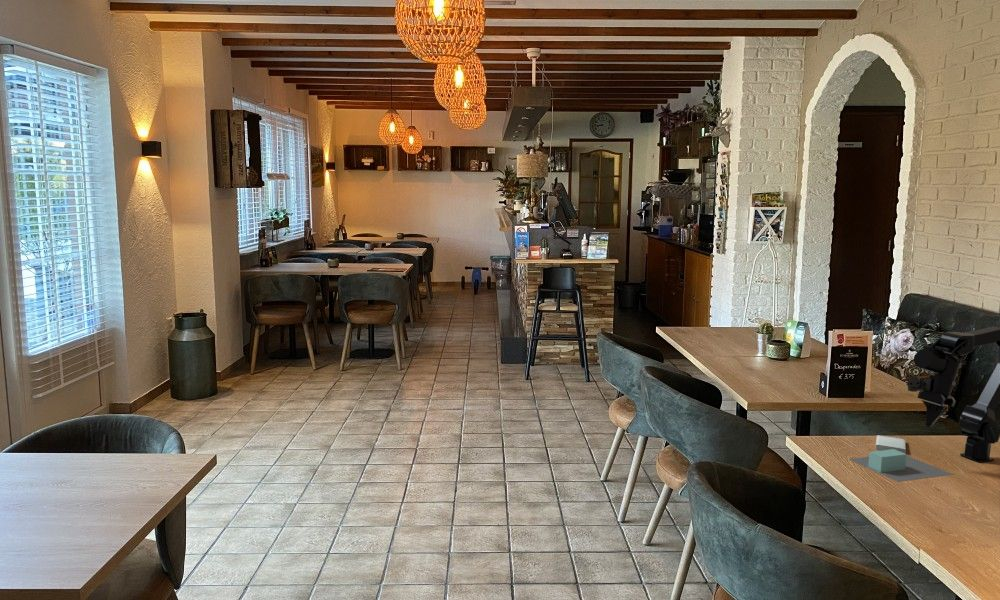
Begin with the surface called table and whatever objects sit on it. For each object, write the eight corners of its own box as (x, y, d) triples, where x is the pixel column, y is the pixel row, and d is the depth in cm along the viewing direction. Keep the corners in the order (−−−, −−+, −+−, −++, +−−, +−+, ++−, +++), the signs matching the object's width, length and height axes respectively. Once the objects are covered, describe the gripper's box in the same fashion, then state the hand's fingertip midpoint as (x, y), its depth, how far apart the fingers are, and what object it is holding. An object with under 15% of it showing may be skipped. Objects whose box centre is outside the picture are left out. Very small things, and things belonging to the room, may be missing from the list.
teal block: (894, 449, 219) (869, 451, 216) (906, 454, 215) (881, 457, 212) (892, 463, 219) (868, 466, 217) (905, 469, 215) (880, 472, 212)
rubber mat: (900, 454, 229) (901, 452, 229) (952, 475, 212) (953, 474, 212) (848, 460, 223) (848, 459, 223) (897, 482, 206) (897, 481, 206)
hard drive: (905, 449, 228) (905, 438, 239) (875, 444, 231) (876, 434, 242) (905, 454, 228) (904, 443, 239) (875, 449, 232) (876, 439, 243)
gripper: (922, 369, 230) (906, 417, 231) (906, 364, 216) (890, 416, 217) (962, 380, 223) (946, 430, 224) (949, 376, 209) (932, 429, 210)
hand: (928, 426), depth 219 cm, fingers closed
